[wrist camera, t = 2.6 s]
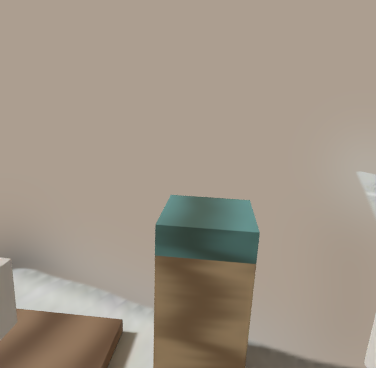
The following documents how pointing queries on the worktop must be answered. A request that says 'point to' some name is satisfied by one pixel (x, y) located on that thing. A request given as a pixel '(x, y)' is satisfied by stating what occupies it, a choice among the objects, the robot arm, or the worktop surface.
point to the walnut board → (59, 341)
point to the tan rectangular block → (204, 282)
